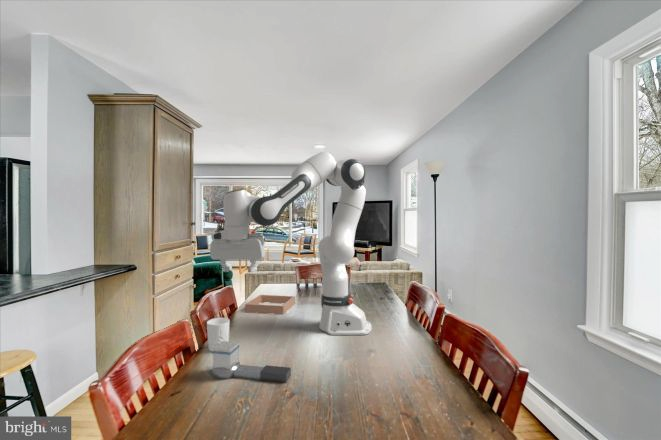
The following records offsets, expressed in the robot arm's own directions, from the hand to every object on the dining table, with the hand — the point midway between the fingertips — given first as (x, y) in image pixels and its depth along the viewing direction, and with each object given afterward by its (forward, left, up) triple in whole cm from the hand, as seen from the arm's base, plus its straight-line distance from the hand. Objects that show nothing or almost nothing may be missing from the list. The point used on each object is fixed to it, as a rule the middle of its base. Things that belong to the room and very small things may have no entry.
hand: (238, 271), depth 117 cm
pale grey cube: (-5, +18, -25) cm, 32 cm away
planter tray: (+7, -48, -28) cm, 56 cm away
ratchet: (-13, +19, -28) cm, 36 cm away
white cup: (+7, +3, -28) cm, 29 cm away
